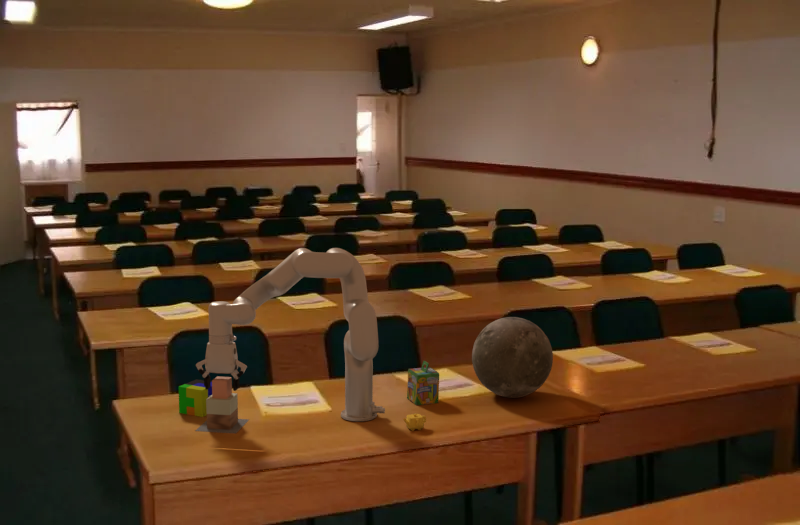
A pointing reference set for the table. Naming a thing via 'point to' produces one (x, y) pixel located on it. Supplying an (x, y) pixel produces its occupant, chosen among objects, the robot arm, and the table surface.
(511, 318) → the globe
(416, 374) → the chalk box
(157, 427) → the table surface
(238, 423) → the mat
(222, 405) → the tower top
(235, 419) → the tower base
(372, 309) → the robot arm
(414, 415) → the teapot
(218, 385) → the terracotta block
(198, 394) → the puzzle toy
